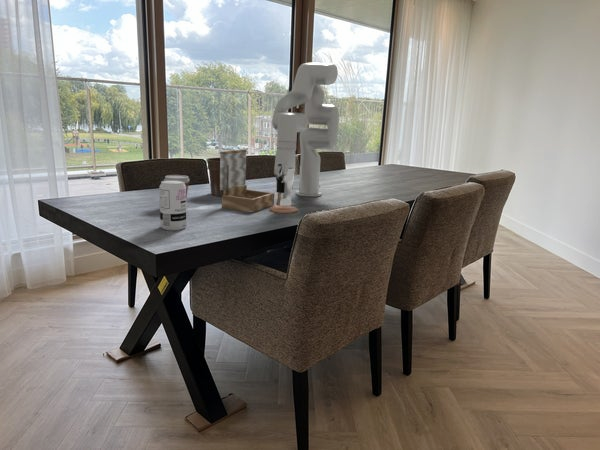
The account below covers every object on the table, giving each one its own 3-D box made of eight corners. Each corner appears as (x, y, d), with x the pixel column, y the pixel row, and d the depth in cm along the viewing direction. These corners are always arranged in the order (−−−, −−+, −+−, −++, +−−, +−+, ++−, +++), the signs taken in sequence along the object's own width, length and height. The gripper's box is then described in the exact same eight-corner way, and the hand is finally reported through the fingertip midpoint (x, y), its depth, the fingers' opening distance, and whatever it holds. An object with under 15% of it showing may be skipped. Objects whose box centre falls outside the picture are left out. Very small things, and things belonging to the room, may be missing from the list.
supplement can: (163, 224, 149) (162, 179, 146) (188, 224, 150) (188, 180, 146) (157, 230, 142) (156, 183, 138) (184, 231, 142) (184, 184, 139)
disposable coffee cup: (194, 206, 178) (194, 176, 175) (178, 210, 169) (178, 179, 166) (175, 203, 182) (175, 173, 179) (159, 207, 173) (158, 176, 170)
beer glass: (290, 207, 176) (292, 169, 172) (273, 206, 177) (274, 168, 173) (294, 204, 182) (296, 167, 179) (277, 202, 184) (279, 165, 180)
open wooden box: (243, 200, 195) (244, 149, 190) (274, 204, 189) (276, 152, 184) (219, 207, 179) (219, 151, 174) (252, 212, 173) (253, 155, 168)
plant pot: (199, 195, 201) (199, 159, 197) (216, 190, 216) (216, 156, 212) (232, 199, 196) (233, 162, 192) (247, 193, 211) (248, 159, 207)
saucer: (277, 206, 187) (277, 204, 187) (301, 209, 183) (301, 207, 183) (264, 210, 177) (264, 208, 177) (289, 214, 173) (290, 212, 173)
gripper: (287, 144, 183) (285, 187, 187) (267, 146, 168) (265, 193, 172) (304, 145, 180) (302, 189, 185) (285, 147, 165) (283, 195, 169)
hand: (284, 190), depth 178 cm, fingers closed on beer glass, 6 cm apart
